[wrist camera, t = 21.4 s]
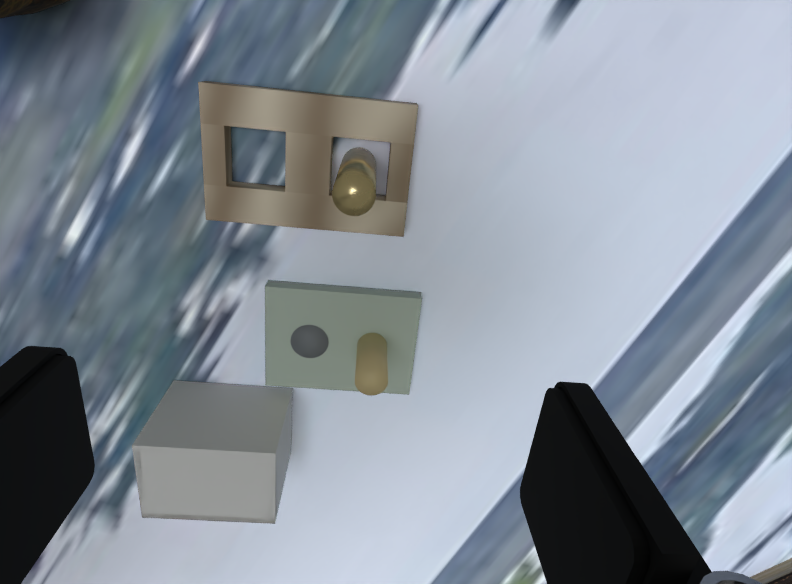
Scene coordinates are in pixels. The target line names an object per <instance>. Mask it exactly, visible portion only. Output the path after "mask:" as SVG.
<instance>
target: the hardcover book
mask: <svg viewBox="0 0 792 584" xmlns="http://www.w3.org/2000/svg"><path fill="white" fill-rule="evenodd" d="M750 578H752V579H754V580H756V581H759V582H761V583H762V584H792V558H791V559H789V560H786V561H784V562H782V563H780V564H778V565H775V566H773V567H771V568H769V569H767V570H765V571H762V572H760V573H758V574H756V575H754V576H752V577H750Z"/></svg>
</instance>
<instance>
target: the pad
mask: <svg viewBox="0 0 792 584" xmlns="http://www.w3.org/2000/svg"><path fill="white" fill-rule="evenodd" d="M421 302H422V296H421V292H410V291H397V290H384V289H372V288H359V287H346V286H333V285H321V284H308V283H295V282H283V281H270V280H268V282H267V284H266V286H265V378H266V385H267V386H283V387H298V388H314V389H329V390H345V391H360V392H361V393H363V394H366V395H377V394H380V393H392V394H407V395H409V391H410V384H411V376H412V369H413V362H414V354H415V347H416V339H417V332H418V325H419V317H420V310H421Z"/></svg>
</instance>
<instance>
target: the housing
mask: <svg viewBox="0 0 792 584" xmlns="http://www.w3.org/2000/svg"><path fill="white" fill-rule="evenodd" d="M292 395H293V388H281V387H266V386H251V385H236V384H221V383H206V382H191V381H176V380H174V381H173V382H172V384H171V385H170V387H169V388H168V390H167V392H166V393H165V395H164V396H163V398H162V399H161V401H160V403H159V404H158V406H157V407H156V409H155V410H154V412H153V413H152V415H151V417H150V418H149V420H148V421H147V423H146V424H145V426H144V428H143V429H142V431H141V432H140V434H139V435H138V437H137V438H136V440H135V442H134V443H133V445H132V449H133V456H134V463H135V470H136V477H137V484H138V492H139V499H140V506H141V513H142V517H143V518H164V519H186V520H207V521H228V522H250V523H271V524H275V522H276V517H277V513H278V508H279V504H280V499H281V495H282V490H283V486H284V481H285V477H286V472H287V468H288V463H289V459H290V454H291V436H292Z"/></svg>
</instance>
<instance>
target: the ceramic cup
mask: <svg viewBox="0 0 792 584" xmlns="http://www.w3.org/2000/svg"><path fill="white" fill-rule="evenodd" d="M67 1H69V0H0V18H5V17H10V16H16V15H25V14H33V13H36V12H39V11H42V10H45V9H48V8H50V7H53V6H56V5H59V4H62V3H65V2H67Z"/></svg>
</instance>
